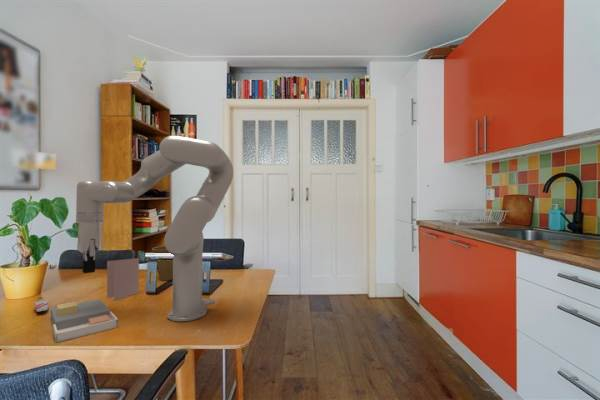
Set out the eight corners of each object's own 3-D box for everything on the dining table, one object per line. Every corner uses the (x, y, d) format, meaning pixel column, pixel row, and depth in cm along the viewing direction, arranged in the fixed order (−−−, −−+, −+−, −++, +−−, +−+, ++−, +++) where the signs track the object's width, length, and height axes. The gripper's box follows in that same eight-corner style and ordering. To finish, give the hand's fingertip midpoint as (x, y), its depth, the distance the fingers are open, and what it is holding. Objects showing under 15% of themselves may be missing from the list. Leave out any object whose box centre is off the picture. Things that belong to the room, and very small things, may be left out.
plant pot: (188, 278, 151) (189, 247, 151) (158, 284, 140) (158, 250, 140) (177, 273, 161) (177, 244, 161) (148, 278, 151) (148, 247, 151)
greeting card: (138, 292, 128) (138, 257, 128) (140, 296, 122) (140, 260, 122) (106, 297, 122) (107, 260, 122) (107, 302, 116) (107, 263, 116)
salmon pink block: (110, 318, 92) (110, 327, 92) (107, 314, 95) (107, 322, 95) (91, 323, 88) (91, 332, 88) (88, 318, 92) (88, 326, 92)
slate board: (99, 307, 110) (99, 299, 110) (109, 319, 99) (109, 310, 99) (50, 317, 101) (50, 308, 101) (55, 332, 89) (55, 322, 89)
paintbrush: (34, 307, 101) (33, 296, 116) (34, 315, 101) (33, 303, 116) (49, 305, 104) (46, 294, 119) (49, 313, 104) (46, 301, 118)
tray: (111, 318, 99) (111, 311, 99) (117, 327, 93) (117, 319, 93) (53, 332, 89) (53, 324, 89) (55, 343, 82) (56, 334, 82)
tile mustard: (75, 308, 100) (75, 301, 100) (77, 312, 97) (77, 305, 97) (56, 312, 97) (56, 305, 97) (58, 317, 93) (58, 309, 93)
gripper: (72, 217, 103) (71, 270, 102) (80, 219, 92) (78, 278, 92) (98, 216, 108) (97, 267, 108) (108, 218, 97) (107, 274, 97)
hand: (88, 272), depth 100 cm, fingers closed
